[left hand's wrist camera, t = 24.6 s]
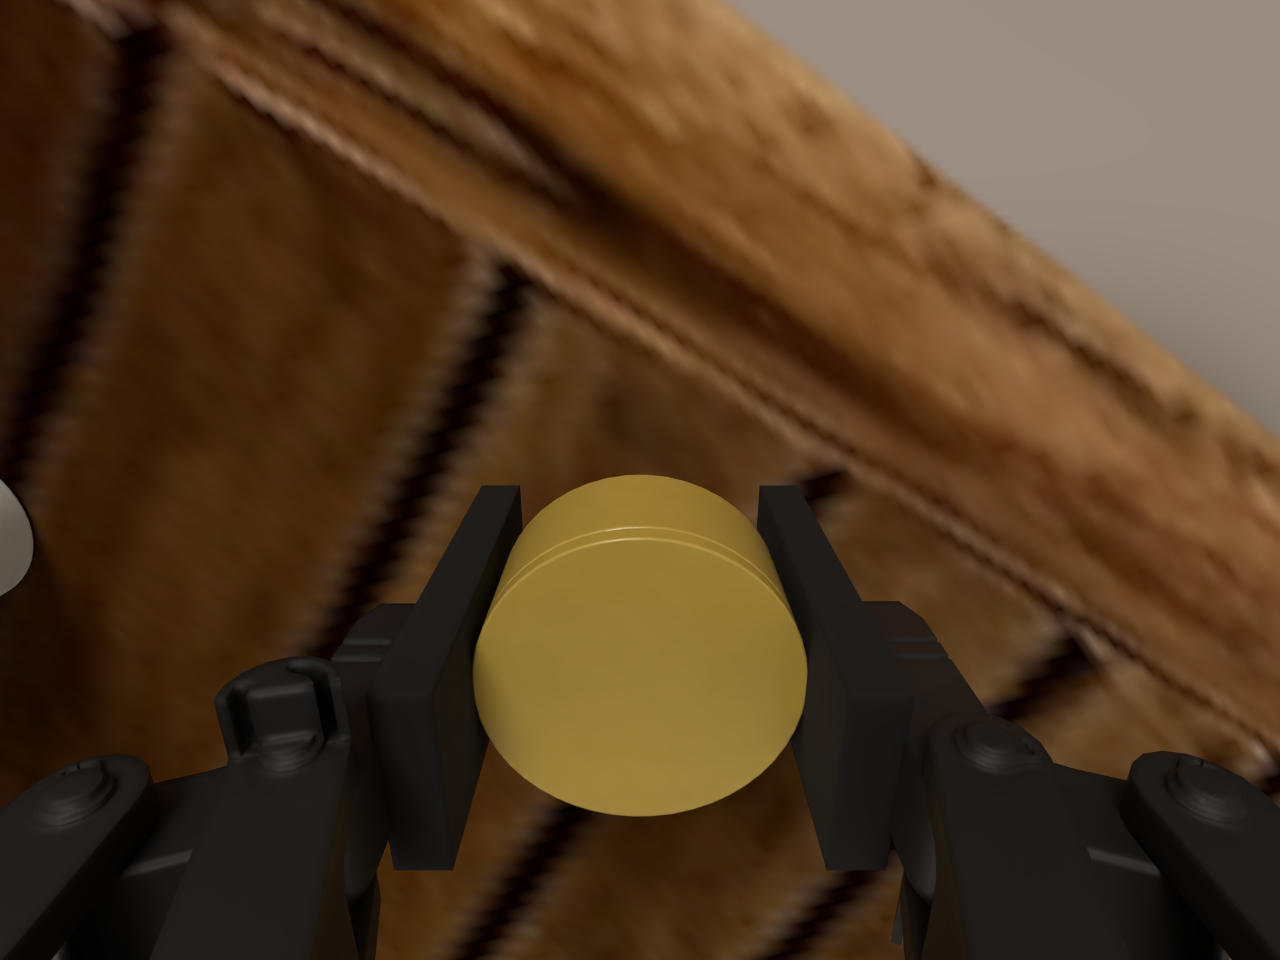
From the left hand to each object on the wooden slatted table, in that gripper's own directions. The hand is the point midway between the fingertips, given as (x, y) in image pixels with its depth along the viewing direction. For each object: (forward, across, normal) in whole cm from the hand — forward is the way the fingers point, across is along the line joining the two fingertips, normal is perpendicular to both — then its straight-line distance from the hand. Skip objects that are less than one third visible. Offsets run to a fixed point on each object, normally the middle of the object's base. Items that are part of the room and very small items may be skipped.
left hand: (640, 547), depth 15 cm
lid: (-4, 0, 0) cm, 4 cm away
